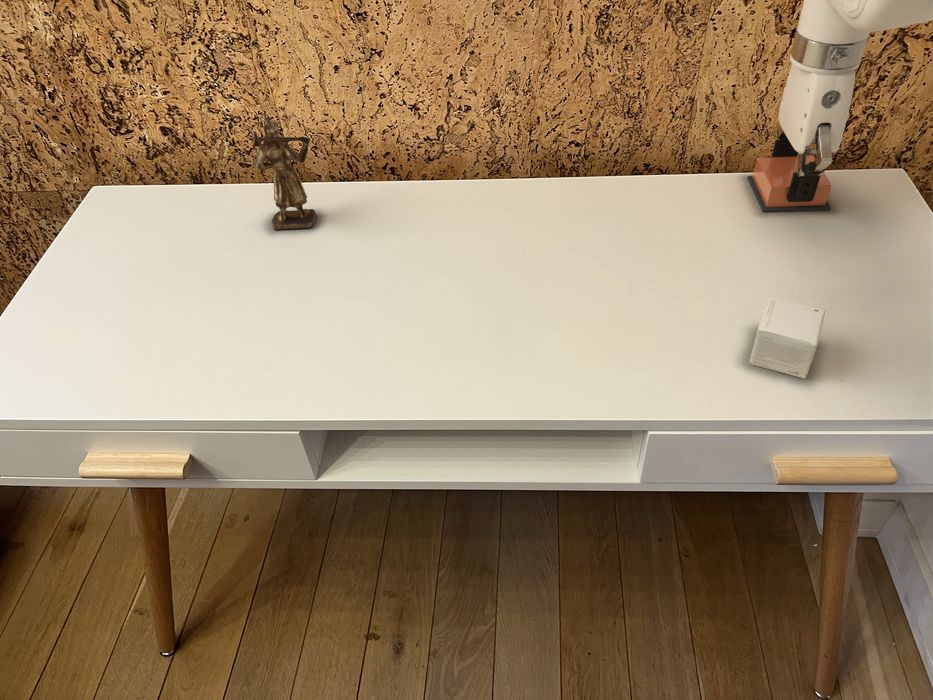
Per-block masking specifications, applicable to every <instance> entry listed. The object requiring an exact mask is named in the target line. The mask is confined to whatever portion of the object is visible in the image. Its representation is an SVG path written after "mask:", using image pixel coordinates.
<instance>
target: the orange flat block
mask: <svg viewBox="0 0 933 700" xmlns="http://www.w3.org/2000/svg"><path fill="white" fill-rule="evenodd" d="M815 158H816V156H815V155H806V165H807V164H808V163H809V162H814V161H815V160H814V159H815ZM797 166H798V155H797V156H796V157H771V156H770V157H767V156H766V157H756V160H755V164H754V168H753V173H752V175H751V176H752V178H753V180H754V182H755V184H756V186H757V189H758V191H759V193H760V195H761V197H762V199H763V201H764V204H765V206H766V207H790V206H823V205H825V204H826V201H827V202H828V198H829V194H830V192H831V188H832V184H831V181H830V180H829V179H828V177H827V175H826V173H825V171H824V172H823V175H822V176H820V180H819V183H818V186H817V189H816V193H815V196H814V199H813V200H812V201H810V202H788V201H787V194H788V190H789V187H790V183H791V180H792V176H793V172H797Z"/></svg>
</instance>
